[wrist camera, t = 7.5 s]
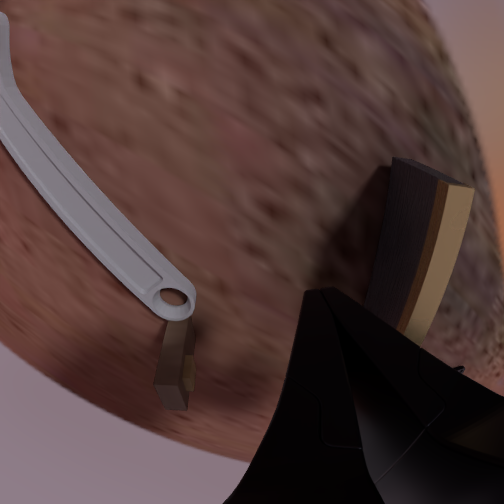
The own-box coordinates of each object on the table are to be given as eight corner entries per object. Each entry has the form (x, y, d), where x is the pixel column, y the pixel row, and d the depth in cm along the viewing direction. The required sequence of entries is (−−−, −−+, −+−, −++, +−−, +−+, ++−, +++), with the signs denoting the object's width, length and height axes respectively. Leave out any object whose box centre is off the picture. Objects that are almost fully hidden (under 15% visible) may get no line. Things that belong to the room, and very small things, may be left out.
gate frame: (376, 323, 18) (407, 383, 14) (363, 348, 20) (387, 408, 15) (170, 308, 17) (152, 382, 12) (171, 338, 18) (157, 408, 13)
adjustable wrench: (208, 291, 17) (206, 310, 16) (136, 330, 18) (129, 349, 17) (1, -1, 6) (-15, -4, 5) (-48, 71, 8) (-64, 74, 6)
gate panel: (375, 328, 18) (401, 382, 14) (353, 330, 18) (377, 387, 13) (414, 159, 12) (476, 189, 8) (388, 156, 12) (449, 185, 8)
